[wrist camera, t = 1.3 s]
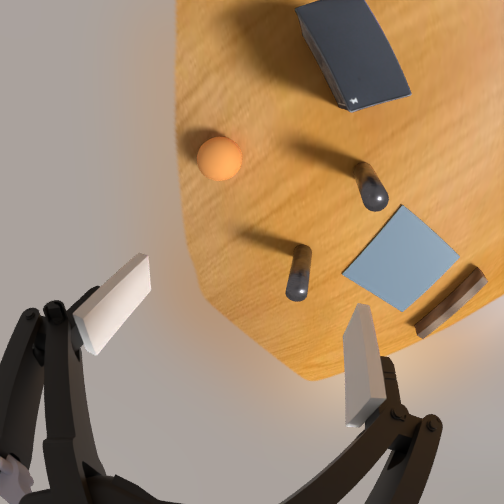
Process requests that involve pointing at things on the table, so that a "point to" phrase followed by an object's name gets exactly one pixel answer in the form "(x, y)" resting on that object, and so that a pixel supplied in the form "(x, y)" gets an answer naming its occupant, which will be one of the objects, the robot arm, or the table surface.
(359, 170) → the post
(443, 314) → the stopper wall
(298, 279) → the post
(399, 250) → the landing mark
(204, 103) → the table surface
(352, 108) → the small box
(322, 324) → the table surface
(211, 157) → the ball
